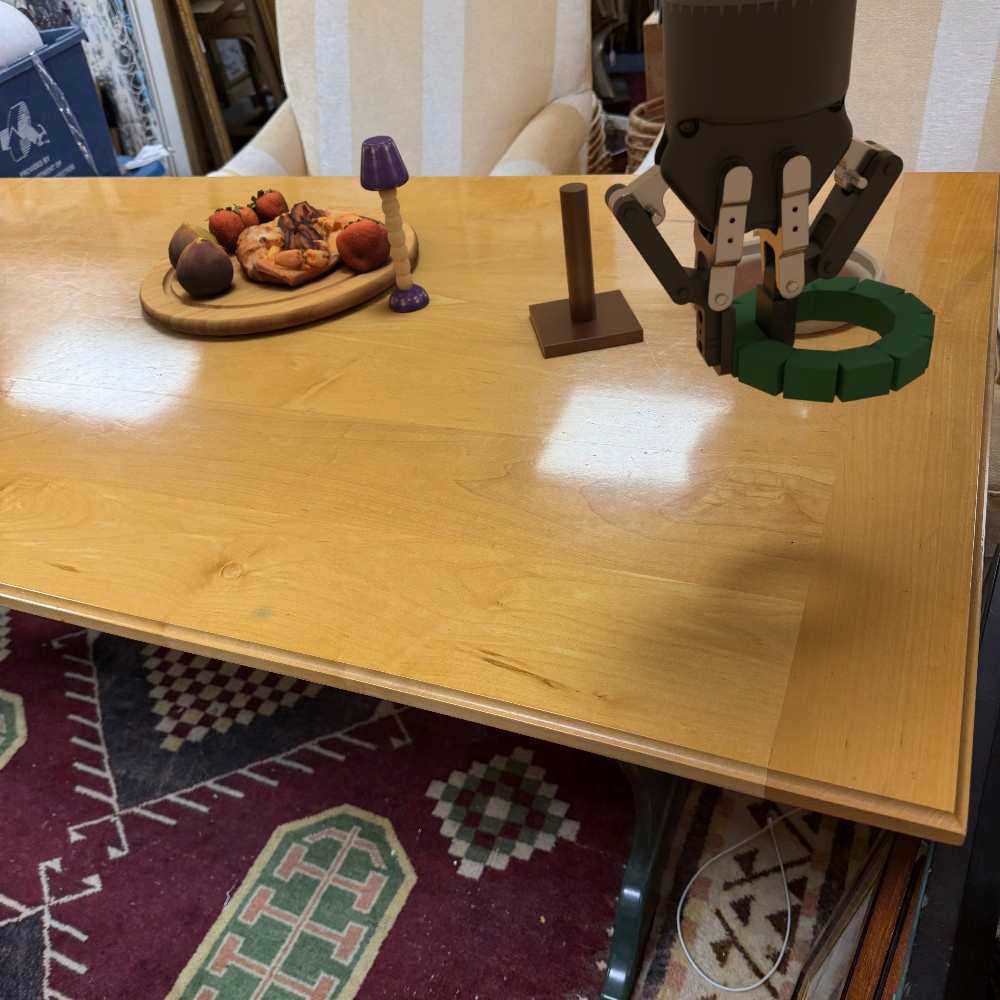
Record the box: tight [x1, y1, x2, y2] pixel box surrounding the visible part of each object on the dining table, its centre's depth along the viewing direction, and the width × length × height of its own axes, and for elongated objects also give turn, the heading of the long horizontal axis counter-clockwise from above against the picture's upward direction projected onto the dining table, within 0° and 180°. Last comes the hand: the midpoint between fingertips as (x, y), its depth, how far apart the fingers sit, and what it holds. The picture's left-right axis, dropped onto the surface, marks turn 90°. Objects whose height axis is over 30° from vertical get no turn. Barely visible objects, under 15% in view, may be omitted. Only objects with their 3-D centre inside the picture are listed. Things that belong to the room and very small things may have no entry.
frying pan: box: [733, 223, 887, 335], centre depth 88 cm, size 17×3×28 cm
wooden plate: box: [138, 187, 420, 336], centre depth 103 cm, size 32×32×8 cm
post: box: [528, 182, 645, 359], centre depth 81 cm, size 9×9×13 cm
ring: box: [730, 276, 937, 404], centre depth 46 cm, size 10×10×2 cm
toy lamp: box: [359, 135, 430, 313], centre depth 89 cm, size 5×5×17 cm
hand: (744, 362), depth 46 cm, fingers closed on ring, 2 cm apart
